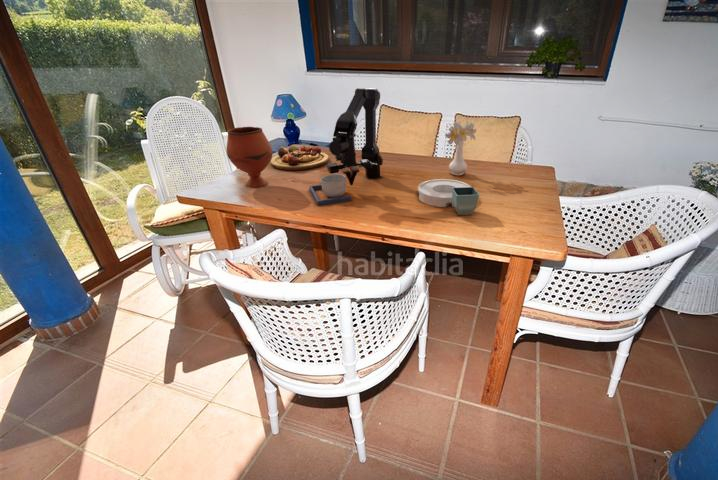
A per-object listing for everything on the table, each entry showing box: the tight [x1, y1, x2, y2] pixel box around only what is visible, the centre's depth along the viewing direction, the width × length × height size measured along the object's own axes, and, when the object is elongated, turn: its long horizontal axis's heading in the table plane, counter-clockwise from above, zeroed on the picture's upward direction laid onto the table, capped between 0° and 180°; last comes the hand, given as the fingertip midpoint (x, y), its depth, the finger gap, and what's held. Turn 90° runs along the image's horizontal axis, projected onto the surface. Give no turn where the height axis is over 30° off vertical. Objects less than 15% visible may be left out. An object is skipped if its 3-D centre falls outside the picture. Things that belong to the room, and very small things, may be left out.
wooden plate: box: [269, 144, 330, 171], centre depth 197 cm, size 32×32×8 cm
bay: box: [308, 184, 352, 206], centre depth 157 cm, size 14×20×2 cm
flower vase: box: [444, 119, 477, 176], centre depth 174 cm, size 13×18×25 cm
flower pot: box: [452, 186, 480, 216], centre depth 138 cm, size 9×9×9 cm
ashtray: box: [417, 178, 472, 208], centre depth 154 cm, size 23×23×4 cm
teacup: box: [319, 172, 347, 199], centre depth 156 cm, size 14×11×8 cm
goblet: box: [226, 126, 273, 188], centre depth 163 cm, size 19×19×25 cm
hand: (351, 185), depth 159 cm, fingers closed
